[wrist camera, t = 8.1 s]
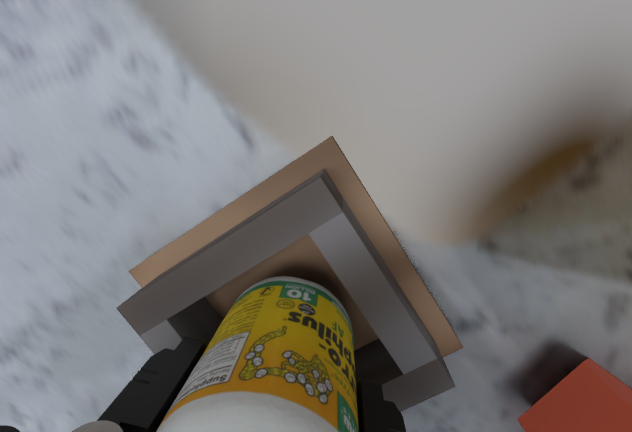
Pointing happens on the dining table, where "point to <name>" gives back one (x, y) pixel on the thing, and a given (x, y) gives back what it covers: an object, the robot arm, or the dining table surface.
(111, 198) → the dining table surface
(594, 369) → the french fries container
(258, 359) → the supplement bottle
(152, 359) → the robot arm
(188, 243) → the collar stand
